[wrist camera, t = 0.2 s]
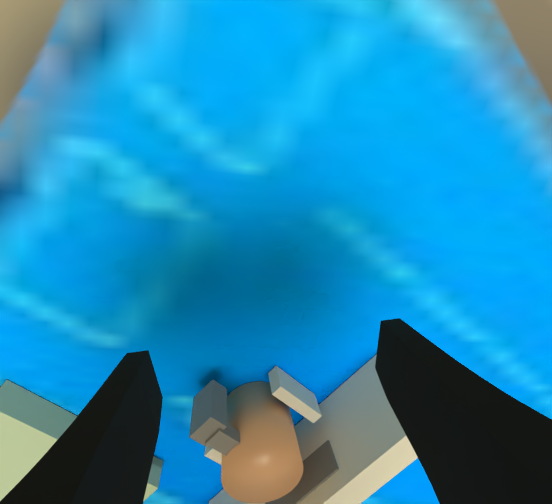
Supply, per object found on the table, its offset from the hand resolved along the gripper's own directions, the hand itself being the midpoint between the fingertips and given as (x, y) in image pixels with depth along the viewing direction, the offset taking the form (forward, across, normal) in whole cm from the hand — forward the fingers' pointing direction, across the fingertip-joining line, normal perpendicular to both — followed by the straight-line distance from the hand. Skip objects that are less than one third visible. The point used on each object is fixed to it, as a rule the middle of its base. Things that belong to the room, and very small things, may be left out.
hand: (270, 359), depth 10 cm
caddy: (+9, +2, +12) cm, 15 cm away
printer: (+8, -1, +16) cm, 18 cm away
